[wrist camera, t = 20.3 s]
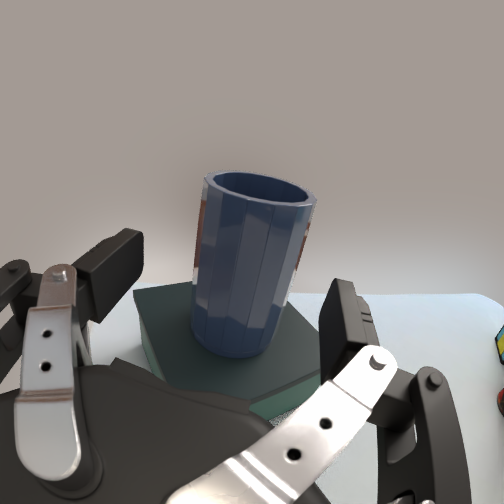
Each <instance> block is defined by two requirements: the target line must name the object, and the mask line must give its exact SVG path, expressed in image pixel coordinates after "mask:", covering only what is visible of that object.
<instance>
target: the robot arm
mask: <svg viewBox="0 0 504 504" xmlns="http://www.w3.org/2000/svg"><path fill="white" fill-rule="evenodd" d="M143 243H144V237H143V233H142V232H140V231H137V230H133V229H129V228H125V229H123V230H122V231H120V232H119V233H118V234H116V235H115V236H112V237H110V238H107V239H104V240H103V241H101V242H100V243H98V244H97V245H96V246H95V247H93V248H92V249H91V250H90V251H89V252H87V253H85V254H84V255H83V256H81V257H80V258H79V259H78V260H76V261H75V262H74V263H73V264H72V265H68V264H58V265H54V266H52V267H50V268H48V269H47V270H46V271H45V272H44V274H37V273H31V271H30V267H29V263H28V262H27V261H25V260H21V259H19V260H13V261H11V262H8V263H7V264H5V265H4V266H3V267H2V268H0V312H1V311H2V310H3V309H4V308H5V307H6V306H7V305H8V304H9V303H10V306H11V309H12V311H13V314H14V315H13V316H12V317H11V318H10V319H9V321H8V322H7V323H6V324H5V325H4V326H3V327H2V328H1V329H0V384H1V382H2V381H3V379H4V378H5V377H6V375H7V374H8V372H9V371H10V369H11V368H12V367H13V365H14V364H15V363H16V361H17V360H18V359H19V357H20V356H21V355H22V360H21V374H20V388H18V389H15V390H12V391H9V392H6V393H2V394H0V504H331V503H330V502H329V500H328V499H327V498H326V497H325V495H324V494H323V493H322V491H321V490H320V489H319V487H318V486H317V485H316V483H315V482H314V481H315V480H316V479H317V478H318V477H319V476H320V475H321V474H322V473H323V472H324V471H325V470H326V469H327V468H328V467H329V465H330V464H331V463H332V462H333V461H334V460H335V459H336V458H337V456H338V455H339V454H340V453H341V452H342V451H343V449H344V448H345V447H346V446H347V444H348V443H349V442H350V441H351V440H352V438H353V437H354V436H355V434H356V433H357V432H358V431H359V429H360V428H361V427H362V425H363V424H364V423H365V421H367V422H369V423H372V424H375V425H377V445H378V498H377V504H472V500H471V489H470V480H469V473H468V466H467V460H466V454H465V449H464V443H463V439H462V434H461V429H460V425H459V421H458V417H457V413H456V409H455V405H454V402H453V398H452V395H451V391H450V388H449V385H448V382H447V380H446V378H445V376H444V375H443V374H442V373H441V372H440V371H438V370H437V369H435V368H433V367H422V368H421V369H420V370H419V371H418V372H417V373H416V375H413V374H411V373H408V372H406V371H403V370H401V369H398V368H397V363H396V360H395V358H394V357H393V356H392V354H391V353H390V352H388V351H387V350H385V349H384V348H382V347H380V345H379V341H378V337H377V333H376V330H375V326H374V323H373V319H372V316H371V312H370V309H369V306H368V304H367V303H366V302H365V300H364V299H363V298H362V297H361V296H356V292H355V288H354V285H353V282H350V281H345V280H341V279H337V278H335V279H334V280H333V281H332V283H331V286H330V288H329V291H328V293H327V296H326V298H325V301H324V303H323V306H322V308H321V311H320V315H319V322H318V324H319V346H320V380H321V387H320V388H319V389H318V390H317V391H316V392H315V393H314V394H313V395H312V396H311V397H310V398H309V399H307V400H306V401H305V402H304V403H303V404H302V405H301V406H300V407H299V408H297V409H296V410H295V411H294V412H293V413H292V414H290V415H289V416H288V417H287V418H286V419H285V420H283V421H282V422H281V423H280V424H278V425H277V426H276V427H274V426H273V425H272V424H271V423H270V422H268V421H267V420H266V419H264V418H263V417H261V416H259V415H258V414H256V413H254V412H252V411H250V410H249V407H250V402H251V400H247V399H243V398H239V397H234V396H230V395H226V394H222V393H219V392H214V391H199V390H187V389H178V388H175V387H173V386H171V385H169V384H168V383H166V382H165V381H163V380H161V379H160V378H158V377H157V376H155V375H154V374H152V373H150V372H149V371H147V370H146V369H144V368H141V367H138V366H136V365H133V364H131V363H128V362H126V361H123V360H121V359H119V358H115V359H114V361H113V362H112V364H111V365H110V366H109V365H93V364H92V357H91V348H90V337H89V327H88V323H87V321H88V320H91V321H94V322H96V323H98V324H100V323H101V322H102V321H103V319H104V318H105V317H106V316H107V315H108V313H109V312H110V311H111V310H112V309H113V307H114V306H115V305H116V304H117V303H118V301H119V300H120V299H121V298H122V297H123V296H124V294H125V293H126V292H127V291H128V290H129V289H130V288H131V286H132V285H133V284H134V283H135V282H136V281H137V280H138V279H139V277H140V276H141V274H142V271H143V265H144V253H143V252H144V251H143V249H144V244H143ZM414 424H415V426H416V433H417V443H416V439H415V431H414Z"/></svg>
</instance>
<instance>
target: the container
mask: <svg viewBox="0 0 504 504" xmlns="http://www.w3.org/2000/svg"><path fill="white" fill-rule="evenodd" d="M192 282H193V281H190V282H184V283H177V284H171V285H164V286H157V287H151V288H144V289H137V290H133V298H134V301H135V304H136V307H137V310H138V313H139V320H140V330H141V339H142V345H143V348H144V350H145V353H146V356H147V359H148V361H149V364H150V367H151V369H152V372H153V374H154V375H155V376H157V377H158V378H160V379H161V380H163V381H165V382H166V383H168V384H169V385H171V386H173V387H175V388H178V389H187V390H199V391H214V392H219V393H222V394H226V395H230V396H234V397H239V398H243V399H247V400H251V402H250V407H249V410H250V411H252V412H254V413H256V414H258V415H259V416H261V417H263V418H264V419H266V420H267V421H268V420H270V419H272V418H275V417H277V416H279V415H281V414H283V413H285V412H287V411H289V410H291V409H293V408H295V407H297V406H299V405H301V404H303V403H304V402H305V401H306V400H307V399H309V398H310V397H311V396H312V395H313V394H314V393H315V391H316V390H317V388H318V387H319V385H320V384H321V380H320V346H319V332H318V331H317V330H316V329H315V328H314V327H313V326H312V325H311V324H310V323H309V322H308V321H307V320H306V319H305V318H304V317H303V316H302V315H301V314H300V313H299V312H298V311H297V310H296V309H295V308H294V307H293V306H292V305H291V304H290V303H289V302H288V301H287V302H286V305H285V308H284V311H283V314H282V317H281V320H280V323H279V326H278V329H277V332H276V334H275V336H274V339H273V341H272V343H271V345H270V346H269V347H268V348H267V349H266V350H265V351H263V352H262V353H260V354H258V355H256V356H253V357H249V358H227V357H223V356H220V355H217V354H214V353H212V352H210V351H209V350H207V349H205V348H204V347H203V346H202V345H200V344H199V343H198V341H197V340H196V339H195V337H194V336H193V334H192V331H191V327H190V308H191V294H192Z"/></svg>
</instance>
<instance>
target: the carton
mask: <svg viewBox="0 0 504 504" xmlns="http://www.w3.org/2000/svg"><path fill="white" fill-rule="evenodd" d="M495 341H496V344H497V348H498V353H499V357H500V361H501V364H503V365H504V325H503V327H502V328H501V330H500V331H499V333H498V334H497V336H496V337H495Z"/></svg>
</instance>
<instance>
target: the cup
mask: <svg viewBox="0 0 504 504" xmlns="http://www.w3.org/2000/svg"><path fill="white" fill-rule="evenodd" d="M316 203H317V199H316V197H315V196H314V194H313V193H312V192H310V191H308V190H307V189H305V188H304V187H302V186H300V185H297V184H295V183H293V182H290V181H287V180H284V179H281V178H277V177H274V176H269V175H265V174H260V173H255V172H246V171H237V170H235V171H234V170H227V171H216V172H212V173H209V174H207V175H206V177H205V178H204V182H203V190H202V197H201V205H200V214H199V221H198V230H197V240H196V249H195V259H194V270H193V282H192V294H191V308H190V327H191V331H192V334H193V336H194V337H195V339H196V340H197V341H198V343H199V344H200V345H202V346H203V347H204V348H205V349H207V350H209V351H210V352H212V353H214V354H217V355H220V356H223V357H227V358H249V357H253V356H256V355H258V354H260V353H262V352H263V351H265V350H266V349H267V348H268V347H269V346H270V345H271V343H272V341H273V339H274V336H275V334H276V332H277V329H278V326H279V323H280V320H281V317H282V314H283V311H284V308H285V305H286V302H287V299H288V296H289V293H290V290H291V287H292V283H293V280H294V277H295V274H296V271H297V267H298V264H299V261H300V258H301V254H302V251H303V248H304V244H305V241H306V238H307V234H308V231H309V227H310V224H311V220H312V217H313V213H314V209H315V206H316Z"/></svg>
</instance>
